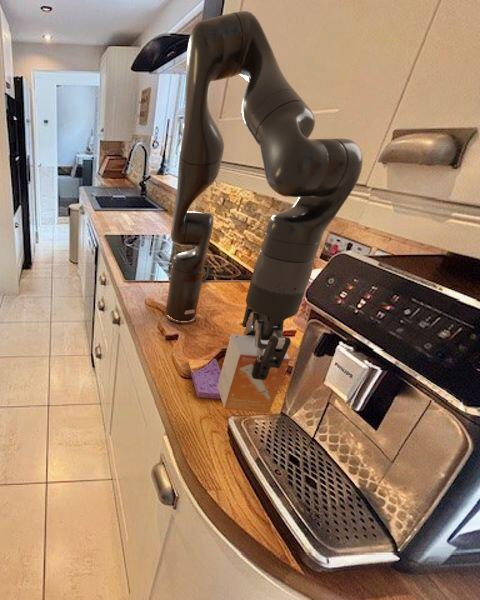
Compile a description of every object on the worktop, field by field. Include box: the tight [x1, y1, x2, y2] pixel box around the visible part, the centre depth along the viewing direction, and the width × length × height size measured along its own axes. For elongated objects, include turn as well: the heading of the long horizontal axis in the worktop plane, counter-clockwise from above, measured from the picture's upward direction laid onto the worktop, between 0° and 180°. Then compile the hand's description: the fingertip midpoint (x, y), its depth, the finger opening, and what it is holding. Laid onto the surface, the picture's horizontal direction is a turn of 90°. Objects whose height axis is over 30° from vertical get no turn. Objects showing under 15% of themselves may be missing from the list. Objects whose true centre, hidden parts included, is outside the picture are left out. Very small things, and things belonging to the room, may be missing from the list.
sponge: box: [189, 358, 222, 400], centre depth 78 cm, size 7×13×2 cm, turn 174°
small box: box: [218, 333, 291, 415], centre depth 60 cm, size 8×6×13 cm
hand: (252, 364), depth 59 cm, fingers closed on small box, 6 cm apart
